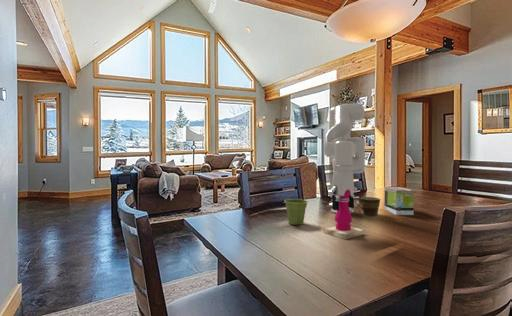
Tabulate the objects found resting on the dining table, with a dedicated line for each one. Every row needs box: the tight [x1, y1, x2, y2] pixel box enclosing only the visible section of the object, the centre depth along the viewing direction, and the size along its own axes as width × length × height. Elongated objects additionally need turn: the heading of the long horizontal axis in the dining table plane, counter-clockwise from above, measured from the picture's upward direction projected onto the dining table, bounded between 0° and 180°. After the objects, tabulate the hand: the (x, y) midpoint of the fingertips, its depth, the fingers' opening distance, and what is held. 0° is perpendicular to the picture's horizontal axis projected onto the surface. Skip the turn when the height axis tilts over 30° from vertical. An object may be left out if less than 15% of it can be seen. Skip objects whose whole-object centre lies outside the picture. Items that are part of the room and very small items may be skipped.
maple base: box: [322, 224, 365, 240], centre depth 123 cm, size 12×12×2 cm
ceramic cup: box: [354, 196, 381, 217], centre depth 155 cm, size 13×10×10 cm
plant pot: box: [284, 198, 309, 226], centre depth 141 cm, size 12×12×11 cm
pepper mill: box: [334, 190, 353, 231], centre depth 123 cm, size 7×7×20 cm
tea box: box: [384, 186, 415, 216], centre depth 161 cm, size 15×10×15 cm
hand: (343, 208), depth 123 cm, fingers open, 9 cm apart
